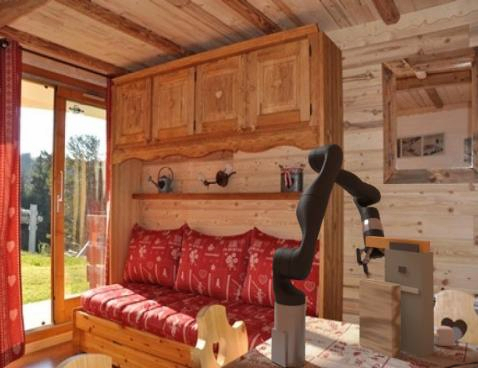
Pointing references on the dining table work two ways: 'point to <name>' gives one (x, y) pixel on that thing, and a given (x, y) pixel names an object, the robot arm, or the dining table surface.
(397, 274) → the case
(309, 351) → the dining table surface
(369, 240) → the orange block
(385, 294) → the birch block
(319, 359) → the dining table surface
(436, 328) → the power adapter
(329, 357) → the dining table surface
